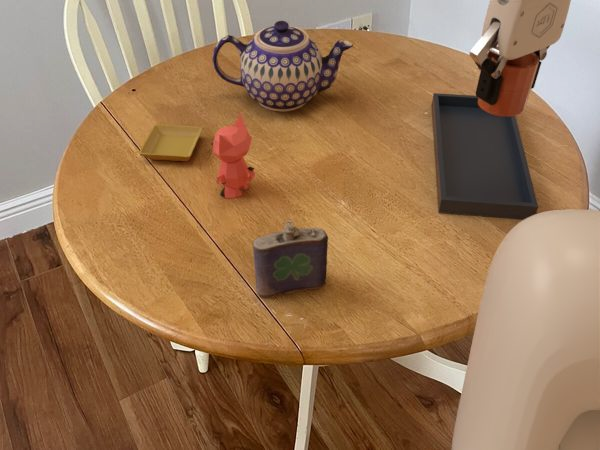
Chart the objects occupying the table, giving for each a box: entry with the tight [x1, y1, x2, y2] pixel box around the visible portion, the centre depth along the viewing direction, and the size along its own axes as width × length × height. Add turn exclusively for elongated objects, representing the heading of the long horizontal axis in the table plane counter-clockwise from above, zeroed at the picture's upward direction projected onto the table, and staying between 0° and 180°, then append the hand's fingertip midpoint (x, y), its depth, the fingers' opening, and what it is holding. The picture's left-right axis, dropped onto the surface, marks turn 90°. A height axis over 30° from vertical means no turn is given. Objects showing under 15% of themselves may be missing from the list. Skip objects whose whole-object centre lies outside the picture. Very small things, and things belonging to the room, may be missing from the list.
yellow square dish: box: [138, 123, 204, 162], centre depth 97 cm, size 9×9×2 cm
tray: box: [431, 92, 539, 220], centre depth 95 cm, size 30×14×3 cm, turn 173°
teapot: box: [211, 20, 354, 112], centre depth 105 cm, size 25×15×15 cm, turn 85°
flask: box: [252, 219, 329, 298], centre depth 72 cm, size 9×3×11 cm, turn 103°
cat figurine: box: [206, 113, 256, 199], centre depth 86 cm, size 7×7×12 cm
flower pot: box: [478, 45, 539, 117], centre depth 77 cm, size 6×6×7 cm
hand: (504, 91), depth 78 cm, fingers closed on flower pot, 6 cm apart
